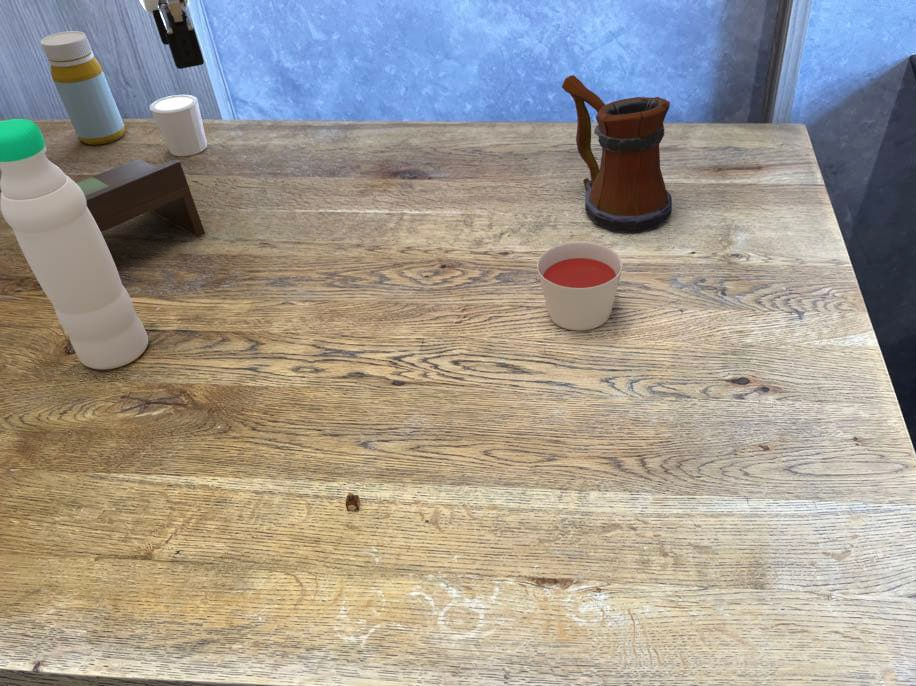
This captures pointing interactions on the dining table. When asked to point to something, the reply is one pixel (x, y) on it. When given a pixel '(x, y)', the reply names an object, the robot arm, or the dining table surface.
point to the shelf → (142, 195)
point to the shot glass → (180, 124)
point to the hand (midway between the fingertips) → (183, 53)
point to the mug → (623, 160)
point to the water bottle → (66, 251)
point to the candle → (579, 283)
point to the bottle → (83, 88)
